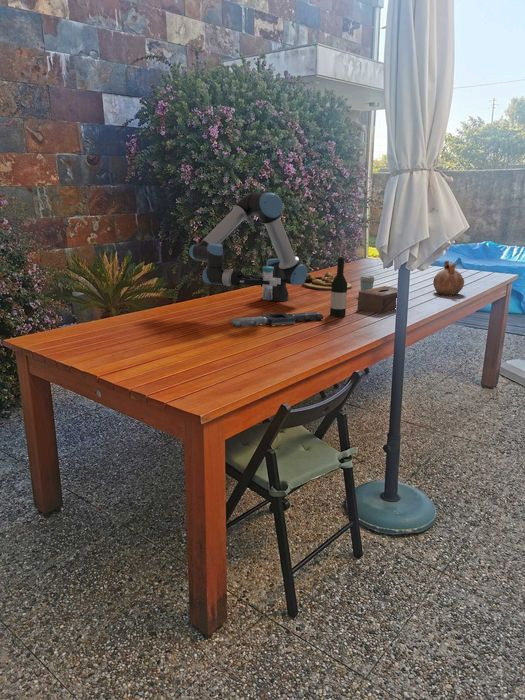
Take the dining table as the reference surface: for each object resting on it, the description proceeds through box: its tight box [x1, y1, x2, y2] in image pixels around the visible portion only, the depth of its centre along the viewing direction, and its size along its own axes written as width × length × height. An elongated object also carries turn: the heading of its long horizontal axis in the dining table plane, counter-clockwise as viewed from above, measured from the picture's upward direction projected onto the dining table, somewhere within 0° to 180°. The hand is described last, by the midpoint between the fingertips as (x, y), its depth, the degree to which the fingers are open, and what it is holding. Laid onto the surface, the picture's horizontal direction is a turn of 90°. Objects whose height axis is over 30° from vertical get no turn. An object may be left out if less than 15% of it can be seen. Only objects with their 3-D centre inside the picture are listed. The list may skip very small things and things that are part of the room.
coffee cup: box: [359, 274, 375, 291], centre depth 334 cm, size 8×9×12 cm
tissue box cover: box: [356, 285, 398, 315], centre depth 304 cm, size 26×14×10 cm, turn 136°
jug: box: [432, 260, 465, 297], centre depth 346 cm, size 18×18×20 cm
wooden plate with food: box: [301, 271, 353, 291], centre depth 364 cm, size 32×32×8 cm
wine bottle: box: [329, 255, 348, 318], centre depth 283 cm, size 8×8×30 cm
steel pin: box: [261, 265, 274, 301], centre depth 265 cm, size 5×5×15 cm
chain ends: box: [230, 311, 324, 328], centre depth 270 cm, size 12×46×3 cm, turn 114°
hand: (278, 282), depth 263 cm, fingers closed on steel pin, 4 cm apart
